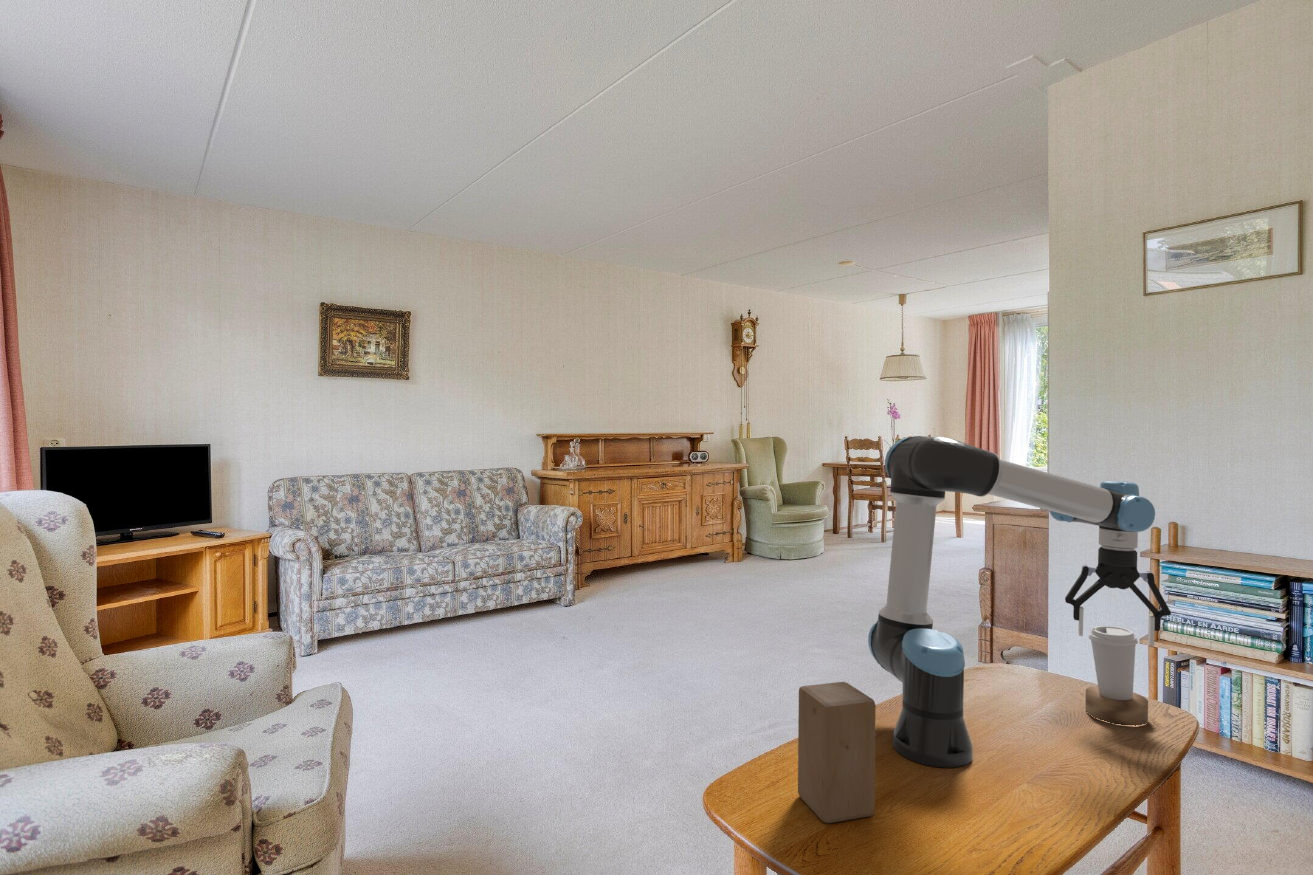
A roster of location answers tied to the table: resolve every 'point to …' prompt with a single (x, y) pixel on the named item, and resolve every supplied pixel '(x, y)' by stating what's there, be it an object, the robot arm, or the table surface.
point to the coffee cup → (1114, 661)
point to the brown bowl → (1117, 708)
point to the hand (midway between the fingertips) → (1115, 639)
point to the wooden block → (836, 751)
